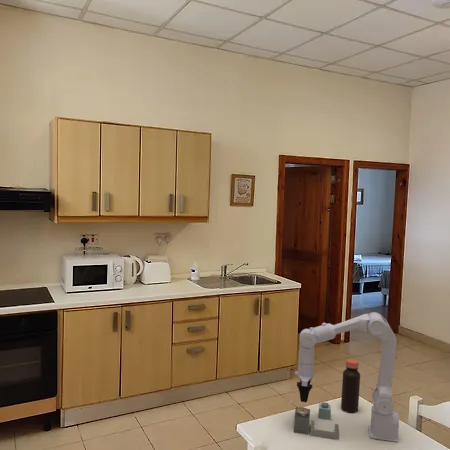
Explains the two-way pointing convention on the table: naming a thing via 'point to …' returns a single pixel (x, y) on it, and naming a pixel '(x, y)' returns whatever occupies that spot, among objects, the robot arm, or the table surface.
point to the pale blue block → (324, 411)
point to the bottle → (350, 387)
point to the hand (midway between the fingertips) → (304, 397)
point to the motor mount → (303, 425)
